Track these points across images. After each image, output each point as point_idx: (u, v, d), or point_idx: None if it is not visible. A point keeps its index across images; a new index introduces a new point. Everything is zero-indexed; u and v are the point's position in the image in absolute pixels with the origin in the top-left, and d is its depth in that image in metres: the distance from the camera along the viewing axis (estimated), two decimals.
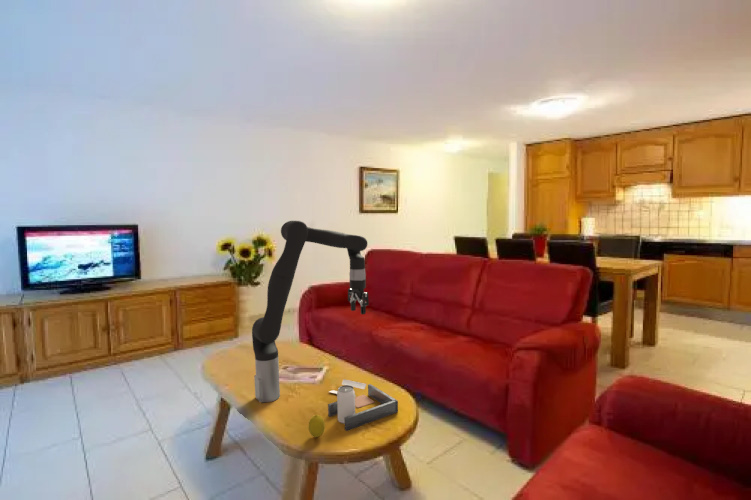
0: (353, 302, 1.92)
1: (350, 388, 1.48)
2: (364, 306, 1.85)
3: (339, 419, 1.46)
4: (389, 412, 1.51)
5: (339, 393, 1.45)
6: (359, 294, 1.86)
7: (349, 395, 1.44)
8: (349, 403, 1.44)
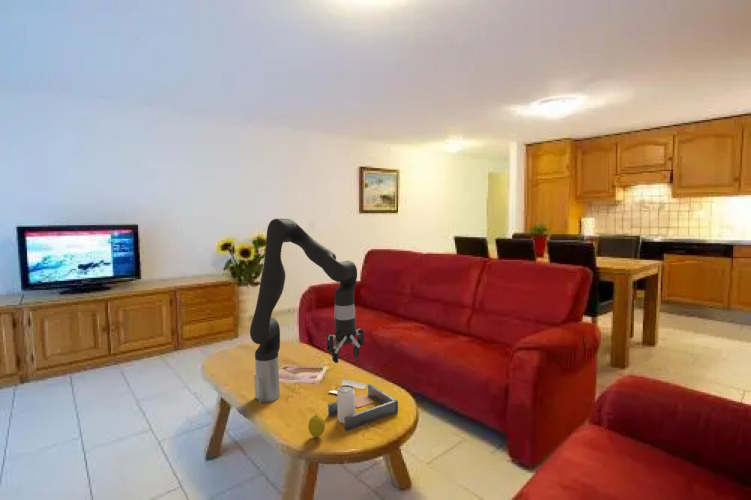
0: None
1: (350, 388, 1.48)
2: None
3: (339, 419, 1.46)
4: (389, 412, 1.51)
5: (339, 393, 1.45)
6: (354, 334, 1.47)
7: (349, 395, 1.44)
8: (349, 403, 1.44)
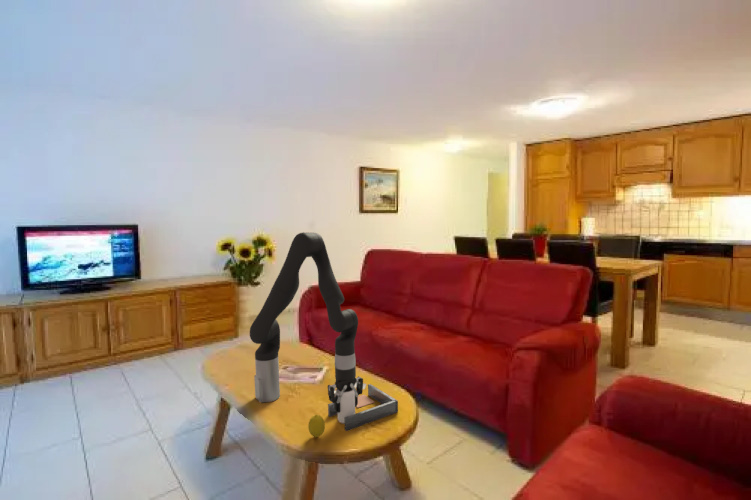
0: None
1: None
2: None
3: (339, 419, 1.46)
4: (389, 412, 1.51)
5: (339, 393, 1.45)
6: (354, 383, 1.48)
7: (349, 395, 1.44)
8: (349, 403, 1.44)
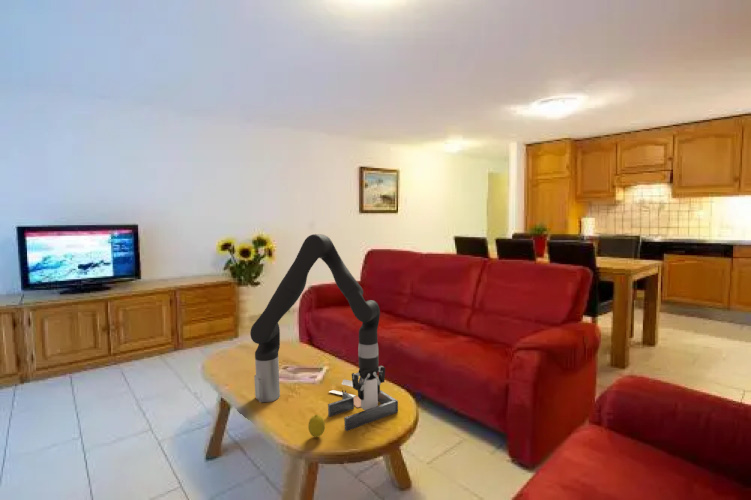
0: None
1: None
2: None
3: (362, 406, 1.51)
4: (389, 412, 1.51)
5: (362, 381, 1.50)
6: (377, 371, 1.53)
7: (373, 383, 1.50)
8: (372, 391, 1.50)
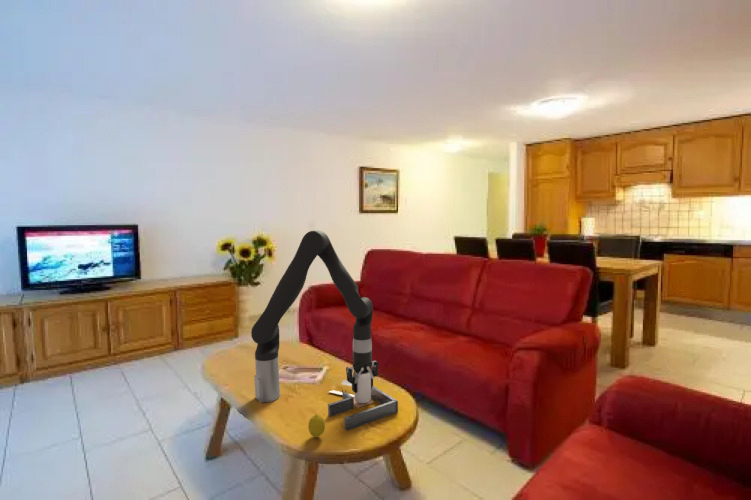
0: None
1: None
2: None
3: (356, 399, 1.58)
4: (389, 412, 1.51)
5: None
6: (370, 366, 1.60)
7: (366, 377, 1.56)
8: (365, 384, 1.56)
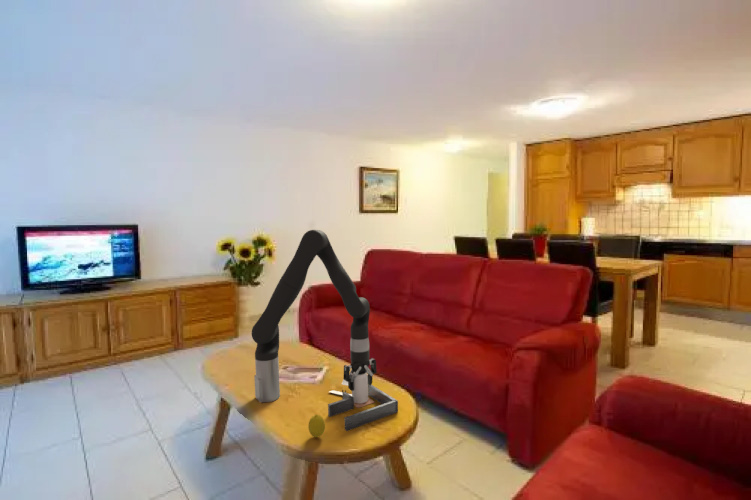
0: None
1: None
2: None
3: (354, 400, 1.60)
4: (389, 412, 1.51)
5: None
6: (368, 364, 1.62)
7: (363, 378, 1.59)
8: (362, 385, 1.59)
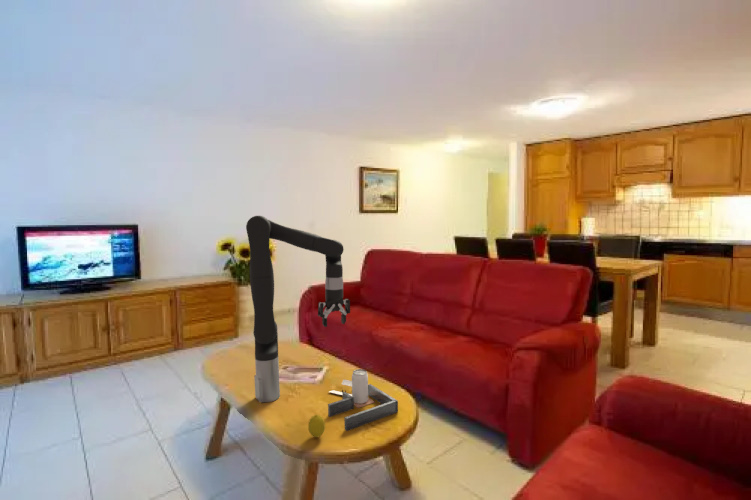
0: None
1: (363, 372, 1.62)
2: None
3: (354, 400, 1.60)
4: (389, 412, 1.51)
5: (354, 376, 1.59)
6: (341, 303, 1.71)
7: (363, 378, 1.58)
8: (363, 385, 1.58)
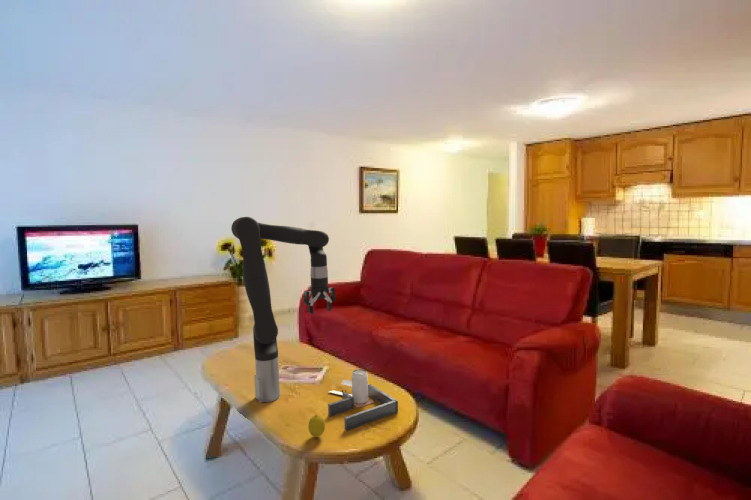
0: None
1: (363, 371, 1.62)
2: None
3: (354, 400, 1.60)
4: (389, 412, 1.51)
5: (354, 376, 1.59)
6: (327, 291, 1.78)
7: (363, 378, 1.59)
8: (362, 385, 1.59)
